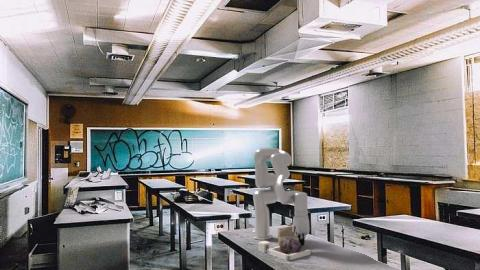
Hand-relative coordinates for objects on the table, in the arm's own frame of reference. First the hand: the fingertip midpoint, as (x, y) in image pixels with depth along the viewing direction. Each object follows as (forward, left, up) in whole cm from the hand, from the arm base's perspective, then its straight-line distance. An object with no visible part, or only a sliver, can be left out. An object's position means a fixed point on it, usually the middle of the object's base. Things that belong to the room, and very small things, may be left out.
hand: (301, 245), depth 221 cm
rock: (+1, -9, -3) cm, 10 cm away
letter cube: (-14, -17, -3) cm, 22 cm away
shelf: (-11, +2, -3) cm, 12 cm away
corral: (0, -10, -3) cm, 10 cm away
